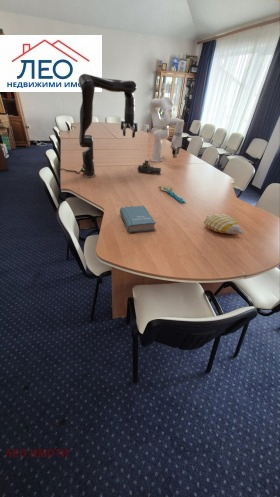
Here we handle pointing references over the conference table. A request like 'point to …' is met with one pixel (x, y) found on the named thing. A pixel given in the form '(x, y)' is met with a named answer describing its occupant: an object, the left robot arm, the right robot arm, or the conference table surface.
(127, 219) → the book
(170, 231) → the conference table surface
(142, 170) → the laser sight
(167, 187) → the logo
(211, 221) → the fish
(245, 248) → the conference table surface
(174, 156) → the tin
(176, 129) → the right robot arm
